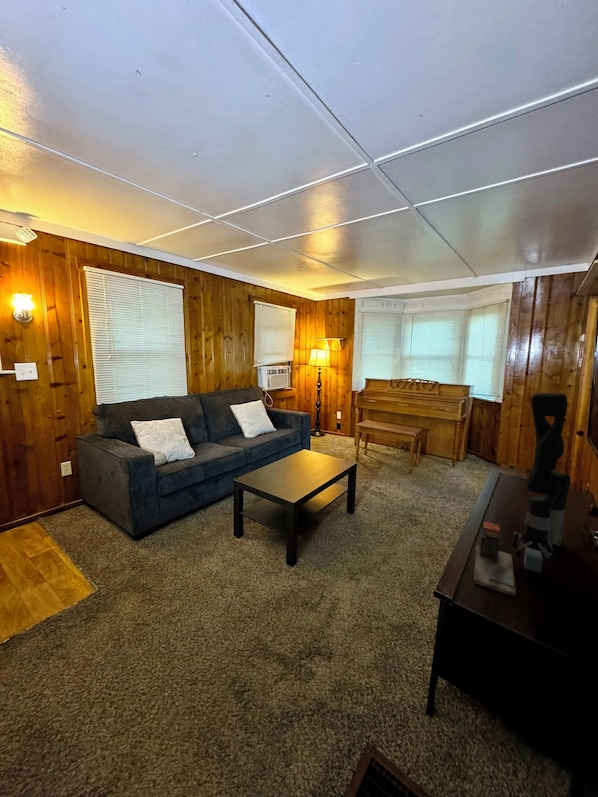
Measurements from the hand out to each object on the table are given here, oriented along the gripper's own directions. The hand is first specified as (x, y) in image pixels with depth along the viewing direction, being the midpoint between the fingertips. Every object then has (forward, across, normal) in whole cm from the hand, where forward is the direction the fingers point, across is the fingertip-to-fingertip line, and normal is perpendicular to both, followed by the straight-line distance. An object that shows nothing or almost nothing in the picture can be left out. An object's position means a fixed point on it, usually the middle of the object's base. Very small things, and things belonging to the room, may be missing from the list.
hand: (531, 561), depth 129 cm
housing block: (+2, 0, 0) cm, 2 cm away
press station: (+2, +13, +10) cm, 17 cm away
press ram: (-5, +15, +3) cm, 16 cm away
